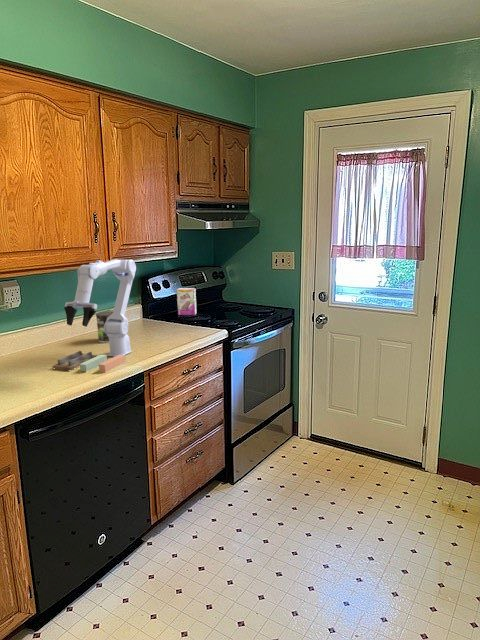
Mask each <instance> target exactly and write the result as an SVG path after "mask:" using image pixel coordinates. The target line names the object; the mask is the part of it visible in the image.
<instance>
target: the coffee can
mask: <svg viewBox="0 0 480 640" xmlns="http://www.w3.org/2000/svg"><path fill="white" fill-rule="evenodd" d="M113 311H114V310H109V311H99V312H96V313H95V316H96V326H97V327H96V329H97V337H98V342H99V343H103V344H107V343H109V336H107V334H106V333H105V332H104V324H105V322H106V321H107V317H109V316H110V315H112V314H113Z"/></svg>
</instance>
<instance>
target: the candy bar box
mask: <svg viewBox="0 0 480 640" xmlns="http://www.w3.org/2000/svg"><path fill="white" fill-rule="evenodd" d="M196 291H197V290H196V288H195V287H194V288H193V287H191V288H189V287H188V288H186V287H179V288H177V289H176V301H177V302H176V303H177V306H176V307H177V316H196V315H197V311H198V310H197V296H196V295H197V294H196V293H197V292H196Z"/></svg>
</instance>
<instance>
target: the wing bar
mask: <svg viewBox="0 0 480 640" xmlns="http://www.w3.org/2000/svg"><path fill="white" fill-rule="evenodd" d="M125 363H126V355H117V356H115V357H113V356H112V357H111V358H109V359H107V361H105V362H103V363H101V364H99V366H98V370H99V371H98V372H99V373H104V374H105V373H107V372H110V371H112V370H114V369H115V368H117V367H119V366H121V365H123V364H125Z"/></svg>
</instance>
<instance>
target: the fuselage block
mask: <svg viewBox="0 0 480 640" xmlns="http://www.w3.org/2000/svg"><path fill="white" fill-rule="evenodd" d="M107 360H108V356H107V354H99V355H97V356H96V357H94V358H92V359H90V360H88V361H86V362H83V363H81V364H80V367H79V369H80V372H81V371H85V372H84V373H88V372H90V371H92V370H95V369H97V368H99V364H101V363H103V362H105V361H107ZM91 369H92V370H91ZM89 370H90V371H89ZM87 371H88V372H87Z"/></svg>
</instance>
